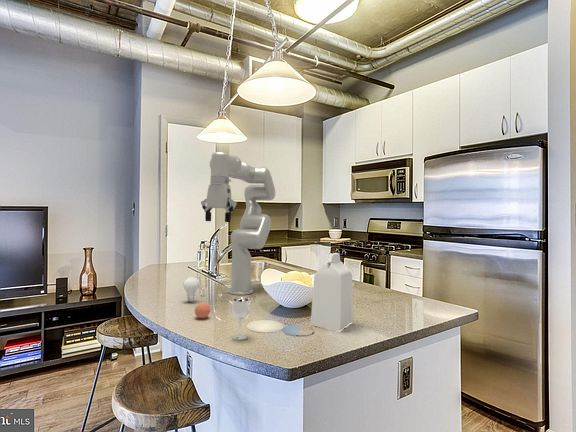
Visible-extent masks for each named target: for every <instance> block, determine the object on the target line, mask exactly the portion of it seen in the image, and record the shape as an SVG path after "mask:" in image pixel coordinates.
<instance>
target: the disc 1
mask: <svg viewBox="0 0 576 432" xmlns="http://www.w3.org/2000/svg"><path fill="white" fill-rule="evenodd" d="M284 327H285V326H284V324H283V323H281V322H279V321H276V320H270V319H262V320H261V319H260V320H259V319H258V320H254V321H250V322H248V323H247V325H246V328H247V329H248V330H250V331H252V332H256V333H264V334H267V333H268V334H269V333H276V332H279V331H282V329H283V328H284Z"/></svg>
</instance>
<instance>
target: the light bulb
mask: <svg viewBox="0 0 576 432" xmlns="http://www.w3.org/2000/svg"><path fill="white" fill-rule="evenodd" d="M199 287H200V281H199V279H197V277H193V276H189V277H188V278H186V279H185V280H184V282H183V288H184V290H185V292H186V296H187V302H189V303H192V302H194V301H195V296H196V292H197V291H198V289H199Z"/></svg>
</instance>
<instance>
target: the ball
mask: <svg viewBox="0 0 576 432" xmlns="http://www.w3.org/2000/svg"><path fill="white" fill-rule="evenodd" d="M194 314H195V316H196V317H197V318H198V319H206V318H207V317H208V316H209V315H210V314H211V307H210V305H208V304H207V303H205V302H201V303H198V304H197V305H196V306H195V308H194Z"/></svg>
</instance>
